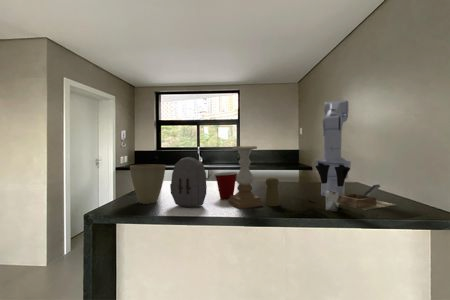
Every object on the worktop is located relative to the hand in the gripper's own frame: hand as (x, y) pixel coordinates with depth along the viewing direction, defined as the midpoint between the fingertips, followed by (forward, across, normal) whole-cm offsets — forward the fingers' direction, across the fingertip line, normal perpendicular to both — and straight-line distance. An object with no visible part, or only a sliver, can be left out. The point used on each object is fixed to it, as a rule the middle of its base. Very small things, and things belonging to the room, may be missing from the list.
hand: (332, 184), depth 98 cm
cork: (+10, -17, -15) cm, 25 cm away
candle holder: (+10, -22, -25) cm, 35 cm away
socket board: (+9, +2, +15) cm, 18 cm away
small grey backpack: (+10, -29, -47) cm, 56 cm away
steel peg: (+9, 0, 0) cm, 9 cm away
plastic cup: (+10, -36, -27) cm, 46 cm away
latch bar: (+5, +1, +20) cm, 21 cm away
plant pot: (+10, -45, -60) cm, 76 cm away
